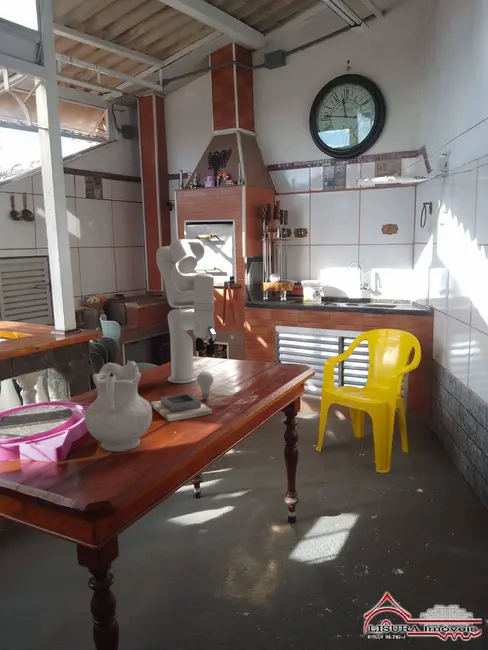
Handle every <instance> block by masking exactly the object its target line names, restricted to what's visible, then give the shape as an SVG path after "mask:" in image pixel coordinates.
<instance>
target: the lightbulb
mask: <svg viewBox="0 0 488 650" xmlns="http://www.w3.org/2000/svg"><path fill="white" fill-rule="evenodd" d="M196 381H197V383H198V386H199V387H200V390H201V391H200V392H201V396H202V399H203V400H207V399H209V397H210V392H211V391H210V390H211V386H213V385H212V384H213V382H214V376H213V374H212V373H211V372H210V371H202V372H199V374H198V375H197V380H196Z"/></svg>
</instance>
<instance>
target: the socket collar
mask: <svg viewBox="0 0 488 650" xmlns="http://www.w3.org/2000/svg"><path fill="white" fill-rule="evenodd" d="M160 401H161V405H163V406H164V407H165V408H166V409H168V410H169V411H170V412H172V413H173V412H179V411H185V410H191V409H196V408H201V403H202V401H201V400H200V399H198V398H197V397H195V396H194V395H192V394H191V393H188V392H186V393H183V394H182V393H181V394H175V395H168V396H161V397H160ZM185 401H187V402H185ZM179 402H183V403H179ZM174 403H177V404H174Z"/></svg>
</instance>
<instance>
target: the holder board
mask: <svg viewBox="0 0 488 650" xmlns="http://www.w3.org/2000/svg"><path fill="white" fill-rule="evenodd" d="M185 402H187V401H185ZM179 403H183V402H179ZM174 404H177V403H174ZM150 405H151V407H152V409H153V410H155V411H156V412H158V413H159V414H160V415H161V416H162V417H163V418H164V419H166V420H167V421H168V422H173V421H174V422H175V421H180V420H185V419H191V418H196V417H203V416H206V415H207V416H208V415H209V416H210V415H212V414H213V409H212V408H211V407H209V406H207V405H206V404H204V403H202V402H201V408H196V409H191V410H185V411H179V412H173V413H172V412H170V411H169V410H168V409H166V408H165V407H164V406H163V405H161V400H158V401H157V400H156V401H151V402H150Z"/></svg>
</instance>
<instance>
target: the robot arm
mask: <svg viewBox="0 0 488 650" xmlns="http://www.w3.org/2000/svg"><path fill="white" fill-rule="evenodd" d="M204 255H205V246H204V243H203V242H202V241H201V240H200V239H196V238H178V239H175V240H173V241H171V243H170V245H166V246H161V247H159V248H158V249H157V250H156V255H155V257H156V258H155V259H156V265H157V267H158V271H159V272H160V274H161V277H162V279H163V281H164V288H165V293H166V299H167V302H168V305H169V306H170V307H172V308H174V309H171V310H170V311H169V312H168V314H167V323H168V329H169V337H170V339H169V340H170V362H171V363H170V364H171V366H170V367H171V368H170V369H171V375H170V376H168V377H167V381H168V382H170V383H174V384H189V383H193V382H196V381H197V377H198V375H195V374H194V346H193V345H194V344H193V343H194V342H193V338H192V336H190V334H189V333H188V332H187V331H191V330H192V333H193V336H194V341H195V350H196V352H197V351H203V350H204V348H205V354H206V355H207V356H210V355H211V356H213V355H215V348H216V347H215V343H216V336H217V333H216V332H215V331H216V330H215V326H216V325H215V315H214V312H215V285H214V282H215V281H214V276H213V275H212V274H210V273H208V272H193V271H194V270H195V269H196V267H198V262H199V261H200V260H202V259H203V257H204ZM204 339H205V340H204ZM204 341H205V342H206V344H205V345H204V343H205V342H204ZM204 346H205V347H204Z"/></svg>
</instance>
